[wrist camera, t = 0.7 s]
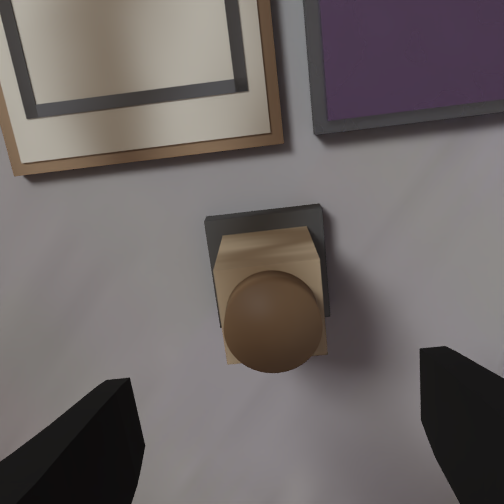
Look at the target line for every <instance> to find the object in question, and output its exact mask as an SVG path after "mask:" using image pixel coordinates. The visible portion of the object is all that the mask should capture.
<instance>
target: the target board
mask: <svg viewBox="0 0 504 504" xmlns="http://www.w3.org/2000/svg"><path fill="white" fill-rule="evenodd" d="M0 125H1V129H2V133H3V136H4V140H5V144H6V148H7V151H8V155H9V159H10V162H11V166H12V170H13V174H14V176H21V175H30V174H38V173H46V172H54V171H62V170H71V169H79V168H87V167H95V166H103V165H112V164H120V163H128V162H136V161H144V160H153V159H161V158H169V157H177V156H185V155H194V154H202V153H210V152H218V151H226V150H235V149H243V148H251V147H259V146H267V145H276V144H284V139H283V129H282V119H281V109H280V98H279V88H278V78H277V68H276V58H275V48H274V38H273V27H272V17H271V7H270V0H0Z"/></svg>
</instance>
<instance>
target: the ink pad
mask: <svg viewBox="0 0 504 504" xmlns="http://www.w3.org/2000/svg"><path fill="white" fill-rule="evenodd" d="M303 7H304V20H305V32H306V45H307V57H308V70H309V82H310V95H311V107H312V120H313V132H314V134H315V135H319V134H327V133H335V132H344V131H352V130H360V129H368V128H376V127H384V126H393V125H401V124H409V123H417V122H425V121H433V120H442V119H450V118H458V117H466V116H474V115H482V114H491V113H499V112H504V0H303Z"/></svg>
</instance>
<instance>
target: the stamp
mask: <svg viewBox="0 0 504 504" xmlns="http://www.w3.org/2000/svg"><path fill="white" fill-rule="evenodd" d="M204 224H205V231H206V237H207V244H208V250H209V257H210V263H211V270H212V276H213V283H214V289H215V296H216V302H217V308H218V315H219V321H220V328H222V332H223V338H224V345H225V351H226V358H227V364H238V363H242V364H244V365H245V366H247V367H249V368H251V369H253V370H257V371H260V372H265V373H280V372H286V371H289V370H292V369H294V368H297V367H298V366H300V365H302V364H303V363H305V362H306V361H307V360H308V359H309V358H310V357H311V356H318V355H328V352H327V340H326V328H325V317H329V316H330V306H329V293H328V280H327V267H326V255H325V242H324V229H323V216H322V208H321V206H320V204H311V205H303V206H294V207H285V208H277V209H268V210H259V211H251V212H242V213H233V214H225V215H216V216H207V217H206V219H205V221H204Z"/></svg>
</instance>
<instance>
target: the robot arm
mask: <svg viewBox="0 0 504 504" xmlns="http://www.w3.org/2000/svg"><path fill="white" fill-rule="evenodd" d="M420 394H421V421H422V424H423V427H424V429H425V432H426V435H427V437H428V440H429V443H430V445H431V448H432V450H433V453H434V455H435V458H436V460H437V462H438V463H439V465H440V467H441V469H442V471H443V473H444V475H445V477H446V478H447V480H448V482H449V484H450V486H451V488H452V490H453V492H454V493H455V495H456V497H457V499H458V501H459V503H460V504H504V378H502V377H500V376H498V375H497V374H495V373H493V372H491V371H490V370H488V369H486V368H484V367H482V366H481V365H479V364H477V363H476V362H474V361H472V360H470V359H469V358H467V357H465V356H463V355H461V354H460V353H458V352H456V351H454V350H452V349H450V348H448V347H446V346H441V347H431V348H421V349H420ZM144 449H145V443H144V438H143V434H142V430H141V425H140V421H139V416H138V412H137V407H136V403H135V398H134V394H133V390H132V385H131V381H130V378H122V379H112V380H106V381H104V382H103V383H101V384H100V385H98V386H97V387H96V388H94V389H93V390H92V391H91V392H89V393H88V394H87V395H86V396H84V397H83V398H82V399H81V400H80V401H78V402H77V403H76V404H75V405H73V406H72V407H71V408H70V409H69V410H67V411H66V412H65V413H64V414H62V415H61V416H60V417H59V418H57V419H56V420H55V421H54V422H53V423H51V424H50V425H49V426H48V427H46V428H45V429H44V430H42V431H41V432H40V433H38V434H37V435H36V436H34V437H33V438H32V439H30V440H29V441H28V442H26V443H25V444H24V445H22V446H21V447H20V448H18V449H17V450H16V451H14V452H13V453H12V454H10V455H9V456H8V457H6V458H5V459H3V460H2V461H0V504H131V503H132V500H133V497H134V494H135V491H136V488H137V485H138V480H139V475H140V471H141V466H142V460H143V455H144Z"/></svg>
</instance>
